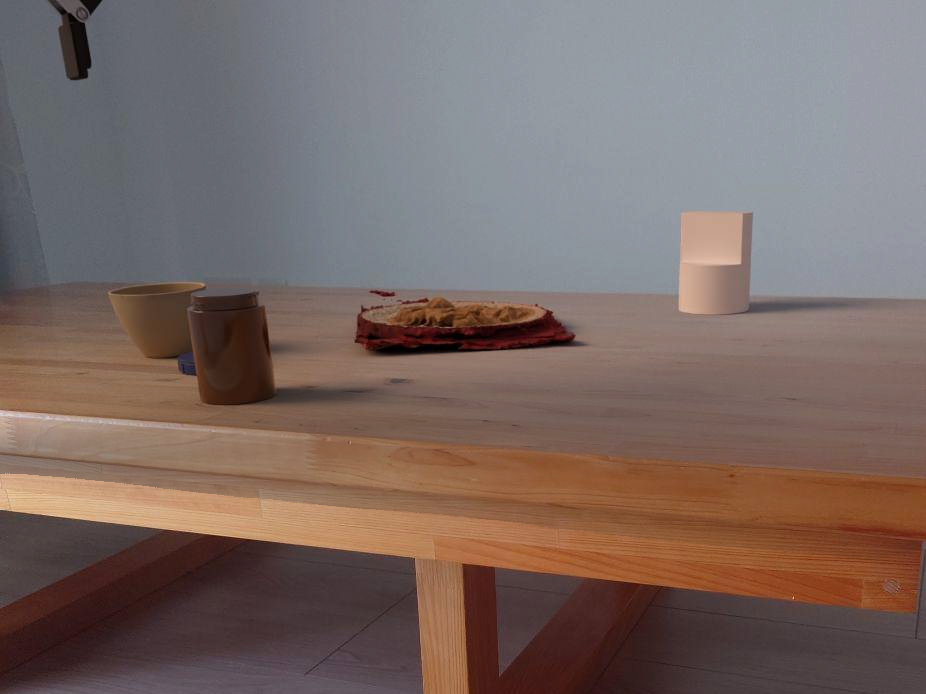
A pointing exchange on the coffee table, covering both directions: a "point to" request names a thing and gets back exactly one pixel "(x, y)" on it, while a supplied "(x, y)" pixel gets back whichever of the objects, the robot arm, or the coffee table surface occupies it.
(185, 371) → the jar lid
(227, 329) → the jar
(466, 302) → the plate with food
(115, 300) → the flower pot
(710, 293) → the base with upright slab
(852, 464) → the coffee table surface
